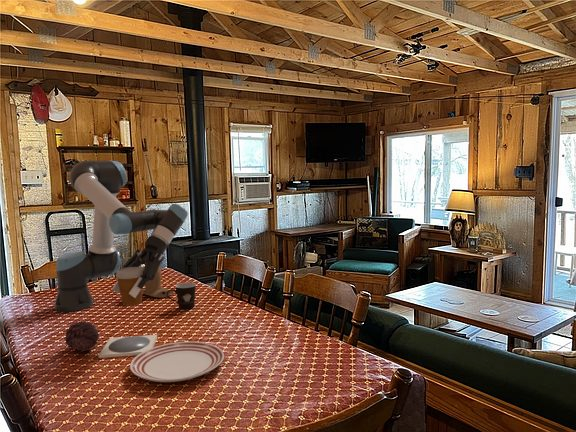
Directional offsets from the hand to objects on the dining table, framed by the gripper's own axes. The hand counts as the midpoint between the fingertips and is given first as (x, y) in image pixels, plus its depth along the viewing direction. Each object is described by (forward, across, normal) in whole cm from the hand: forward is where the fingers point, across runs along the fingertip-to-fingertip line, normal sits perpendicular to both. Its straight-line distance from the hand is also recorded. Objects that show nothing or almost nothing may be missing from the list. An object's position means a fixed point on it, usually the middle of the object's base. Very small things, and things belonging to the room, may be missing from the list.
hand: (123, 293), depth 147 cm
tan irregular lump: (-16, +38, -41) cm, 59 cm away
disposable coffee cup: (+1, 0, -6) cm, 6 cm away
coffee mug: (-13, +13, -38) cm, 42 cm away
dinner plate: (+14, -30, -11) cm, 35 cm away
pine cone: (+21, +6, -4) cm, 22 cm away
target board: (+14, -4, -11) cm, 18 cm away
